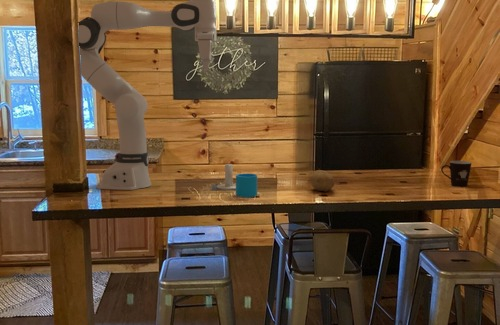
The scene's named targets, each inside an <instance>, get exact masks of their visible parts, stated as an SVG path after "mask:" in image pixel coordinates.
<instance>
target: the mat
mask: <svg viewBox="0 0 500 325" xmlns="http://www.w3.org/2000/svg"><path fill="white" fill-rule="evenodd" d="M217 185H218V184H212V186H211V192H212V191H219V192H220V191H221V192H222V191H223V190H222V189H218V188H217ZM234 191H236V189H235V190H234Z"/></svg>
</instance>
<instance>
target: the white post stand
mask: <svg viewBox="0 0 500 325" xmlns="http://www.w3.org/2000/svg"><path fill="white" fill-rule="evenodd" d="M233 171H234V168H233V164H232V163H225V164H224V183H221V184H216V185H217V188H218V189H222V191H236V190H235V189H236V183H234V180H233V179H234V177H233V175H234V173H233Z"/></svg>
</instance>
